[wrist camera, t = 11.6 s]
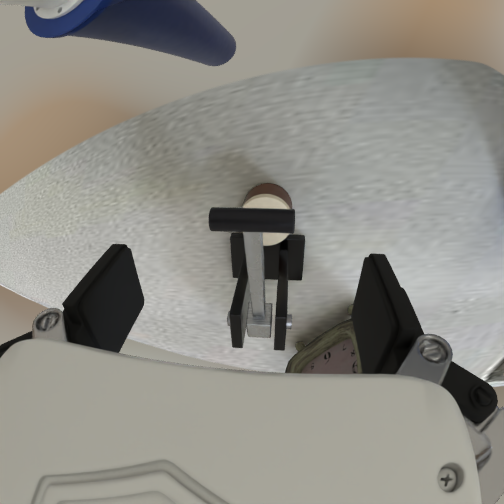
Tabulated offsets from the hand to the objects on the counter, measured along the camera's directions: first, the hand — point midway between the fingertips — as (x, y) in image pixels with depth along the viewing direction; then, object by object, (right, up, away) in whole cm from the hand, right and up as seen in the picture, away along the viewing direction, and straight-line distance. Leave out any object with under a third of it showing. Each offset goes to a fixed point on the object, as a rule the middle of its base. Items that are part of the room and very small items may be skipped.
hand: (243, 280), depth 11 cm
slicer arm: (+1, 0, +12) cm, 12 cm away
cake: (+2, +7, +23) cm, 24 cm away
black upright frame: (+2, +1, +26) cm, 26 cm away
